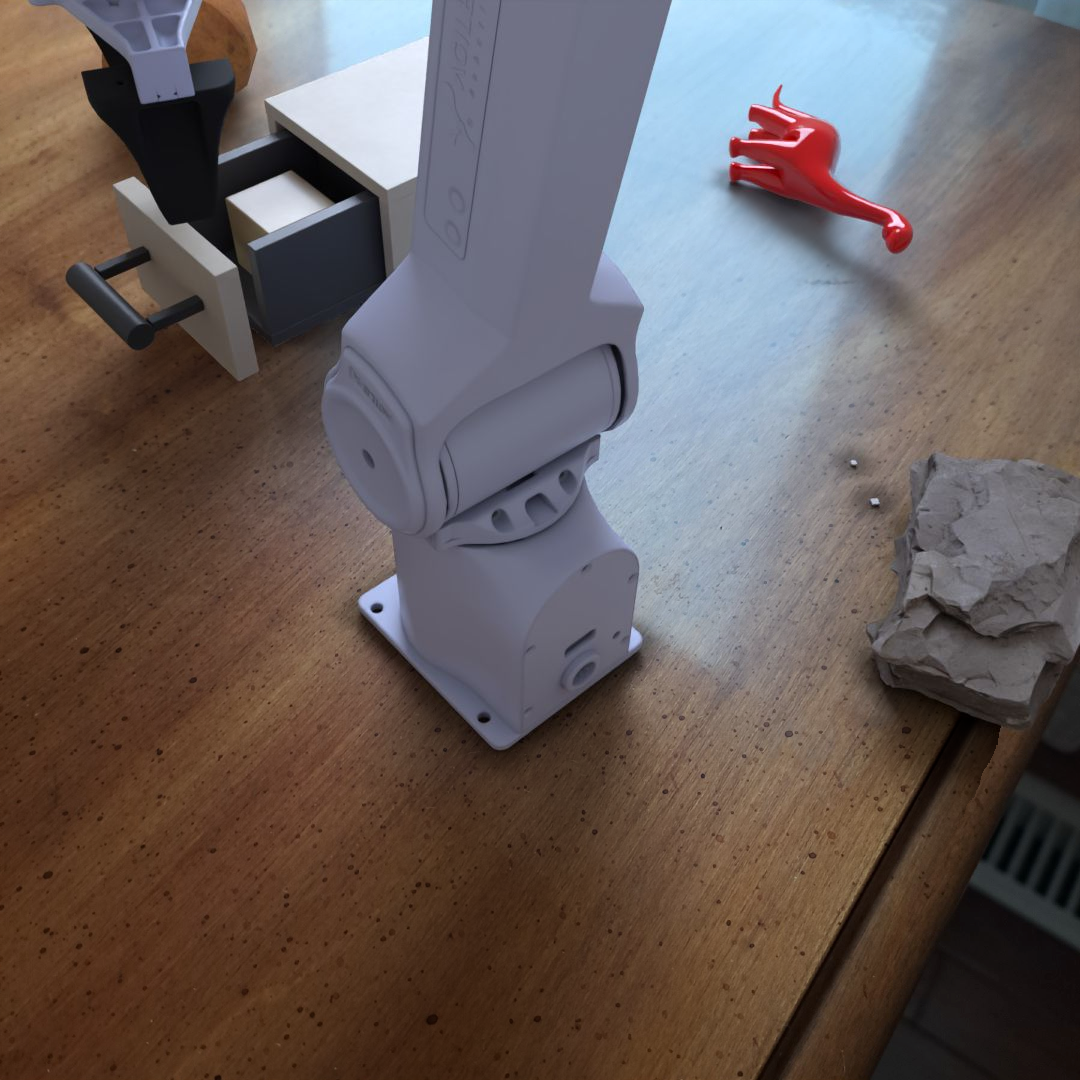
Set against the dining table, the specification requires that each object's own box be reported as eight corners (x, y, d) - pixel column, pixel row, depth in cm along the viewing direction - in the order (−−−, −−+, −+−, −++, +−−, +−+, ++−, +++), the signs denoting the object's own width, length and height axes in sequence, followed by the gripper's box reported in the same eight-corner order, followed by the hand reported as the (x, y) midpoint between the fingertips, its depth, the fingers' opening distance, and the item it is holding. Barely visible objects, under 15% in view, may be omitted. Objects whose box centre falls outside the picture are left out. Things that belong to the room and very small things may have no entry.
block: (345, 269, 62) (336, 203, 59) (280, 300, 60) (268, 234, 57) (301, 234, 64) (291, 169, 61) (237, 263, 62) (224, 197, 59)
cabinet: (398, 324, 63) (387, 190, 56) (285, 232, 68) (263, 99, 61) (575, 233, 68) (582, 102, 62) (458, 154, 73) (454, 25, 67)
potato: (291, 68, 79) (275, -47, 74) (223, 158, 72) (199, 38, 67) (163, 49, 81) (137, -66, 75) (83, 135, 74) (48, 16, 68)
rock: (1080, 764, 46) (1120, 713, 43) (848, 691, 48) (870, 638, 45) (1105, 513, 54) (1140, 455, 51) (905, 459, 56) (927, 400, 53)
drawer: (164, 420, 56) (132, 314, 51) (69, 321, 61) (32, 216, 56) (425, 287, 63) (418, 183, 58) (323, 208, 68) (309, 105, 63)
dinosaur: (777, 112, 78) (971, 140, 73) (688, 242, 69) (901, 282, 65) (779, 54, 75) (981, 79, 70) (687, 182, 66) (909, 220, 62)
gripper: (-30, -212, 47) (66, 105, 58) (1, -60, 39) (108, 281, 49) (150, -230, 49) (212, 81, 59) (219, -88, 40) (278, 247, 51)
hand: (176, 170), depth 54 cm, fingers open, 7 cm apart
